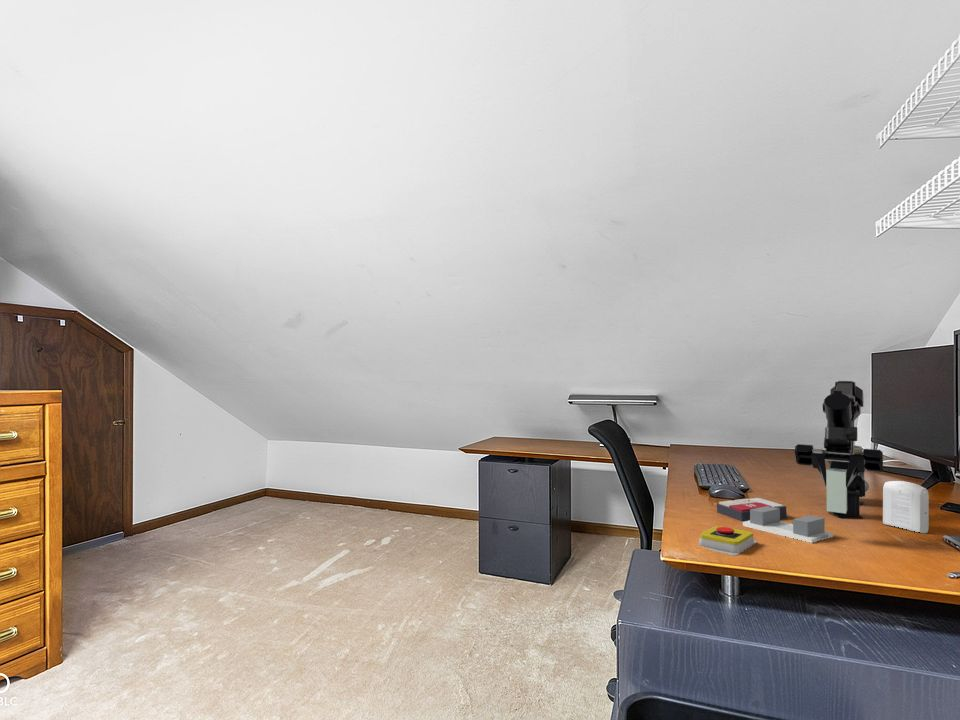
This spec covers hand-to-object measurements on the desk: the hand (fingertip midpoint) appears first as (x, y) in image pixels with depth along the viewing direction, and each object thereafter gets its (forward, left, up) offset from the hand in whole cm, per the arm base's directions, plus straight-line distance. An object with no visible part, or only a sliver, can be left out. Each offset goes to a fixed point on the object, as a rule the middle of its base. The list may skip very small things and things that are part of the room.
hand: (836, 484), depth 139 cm
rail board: (+9, -7, -14) cm, 18 cm away
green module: (-1, -1, -7) cm, 7 cm away
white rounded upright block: (-24, -14, -14) cm, 31 cm away
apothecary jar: (-25, -45, -14) cm, 54 cm away
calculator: (+12, -24, -14) cm, 30 cm away
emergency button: (+28, +6, -14) cm, 32 cm away
